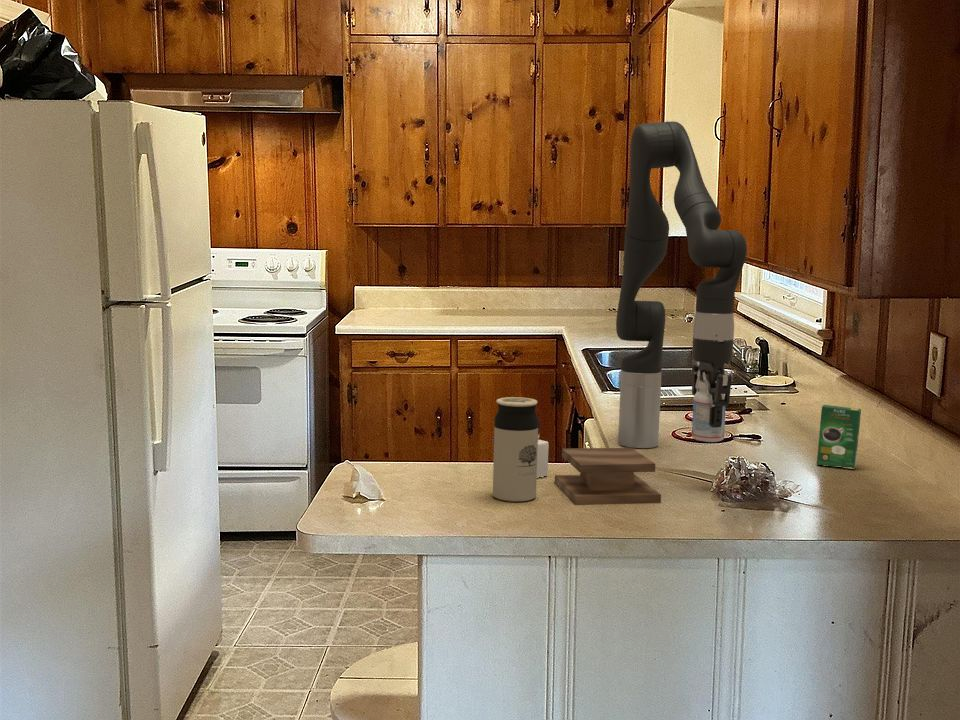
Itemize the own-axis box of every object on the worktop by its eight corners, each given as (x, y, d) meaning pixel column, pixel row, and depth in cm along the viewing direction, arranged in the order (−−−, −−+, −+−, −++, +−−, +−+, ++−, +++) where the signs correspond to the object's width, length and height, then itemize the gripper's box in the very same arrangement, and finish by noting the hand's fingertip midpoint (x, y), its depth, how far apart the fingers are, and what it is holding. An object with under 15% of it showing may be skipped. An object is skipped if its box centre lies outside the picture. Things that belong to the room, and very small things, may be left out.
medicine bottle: (522, 470, 212) (523, 412, 211) (548, 476, 207) (550, 417, 206) (497, 475, 207) (499, 416, 206) (523, 482, 202) (525, 421, 201)
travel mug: (485, 493, 193) (488, 397, 190) (524, 490, 196) (527, 396, 194) (503, 504, 185) (506, 405, 183) (543, 500, 189) (546, 402, 186)
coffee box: (857, 468, 221) (862, 407, 219) (855, 470, 218) (860, 409, 217) (818, 463, 225) (822, 403, 223) (816, 466, 222) (820, 405, 220)
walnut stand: (554, 482, 202) (555, 447, 201) (633, 481, 205) (635, 446, 204) (575, 504, 186) (576, 466, 186) (660, 502, 189) (662, 464, 188)
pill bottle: (700, 434, 203) (703, 377, 202) (729, 439, 199) (732, 381, 198) (685, 439, 198) (688, 381, 197) (714, 444, 195) (718, 384, 193)
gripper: (680, 331, 203) (676, 416, 205) (709, 340, 188) (704, 431, 191) (717, 331, 204) (712, 415, 206) (747, 340, 190) (742, 430, 192)
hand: (708, 422), depth 198 cm, fingers closed on pill bottle, 6 cm apart
